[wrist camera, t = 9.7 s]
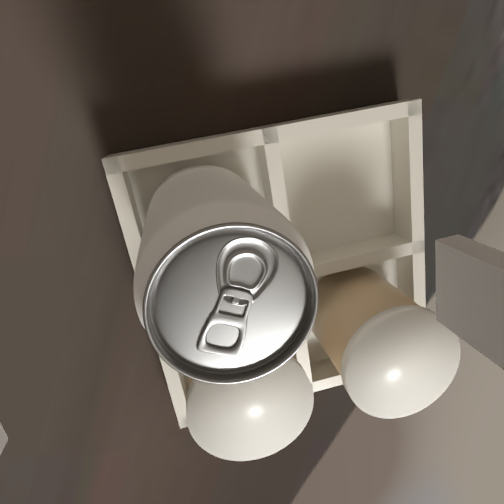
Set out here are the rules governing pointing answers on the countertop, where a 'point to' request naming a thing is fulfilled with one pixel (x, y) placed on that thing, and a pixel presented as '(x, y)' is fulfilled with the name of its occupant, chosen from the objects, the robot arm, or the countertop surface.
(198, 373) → the can
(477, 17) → the countertop surface
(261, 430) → the paper cup
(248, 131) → the carrier
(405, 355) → the paper cup
